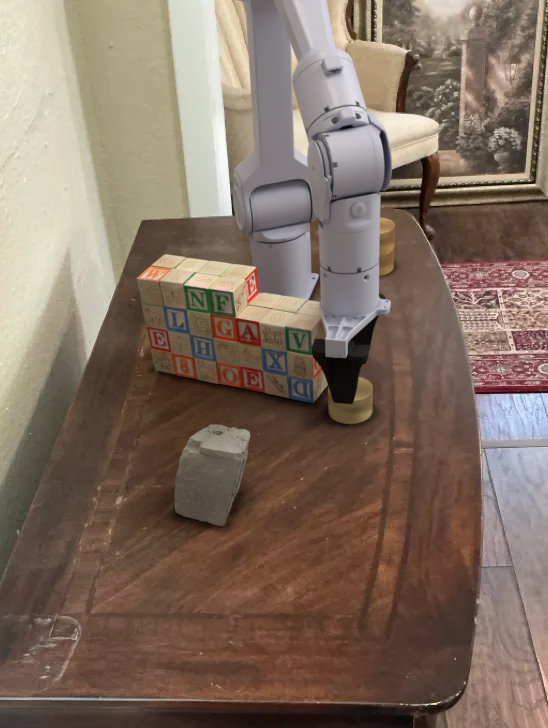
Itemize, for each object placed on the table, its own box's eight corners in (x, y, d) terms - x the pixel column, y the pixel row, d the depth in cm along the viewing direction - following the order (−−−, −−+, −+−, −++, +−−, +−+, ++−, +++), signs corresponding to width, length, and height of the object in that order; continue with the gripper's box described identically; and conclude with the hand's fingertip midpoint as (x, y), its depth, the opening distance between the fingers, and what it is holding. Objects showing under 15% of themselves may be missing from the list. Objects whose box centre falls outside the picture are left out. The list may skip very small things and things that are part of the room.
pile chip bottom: (359, 258, 121) (359, 237, 119) (396, 260, 120) (397, 239, 118) (352, 275, 118) (352, 254, 116) (390, 277, 116) (391, 256, 114)
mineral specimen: (257, 527, 81) (231, 461, 76) (177, 528, 85) (147, 465, 80) (278, 476, 86) (255, 411, 81) (201, 479, 90) (174, 417, 85)
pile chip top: (359, 237, 119) (359, 216, 117) (397, 239, 118) (397, 217, 116) (352, 254, 116) (352, 233, 114) (391, 256, 114) (391, 234, 112)
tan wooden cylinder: (333, 397, 97) (332, 374, 95) (375, 400, 96) (376, 377, 94) (324, 422, 94) (323, 399, 92) (368, 425, 93) (368, 402, 91)
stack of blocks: (336, 376, 100) (334, 277, 92) (314, 405, 96) (309, 305, 88) (179, 345, 108) (163, 251, 100) (152, 370, 105) (134, 275, 96)
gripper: (378, 299, 77) (376, 424, 86) (402, 229, 87) (398, 348, 96) (301, 295, 79) (307, 418, 88) (333, 227, 89) (335, 344, 98)
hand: (350, 381), depth 92 cm, fingers open, 7 cm apart
